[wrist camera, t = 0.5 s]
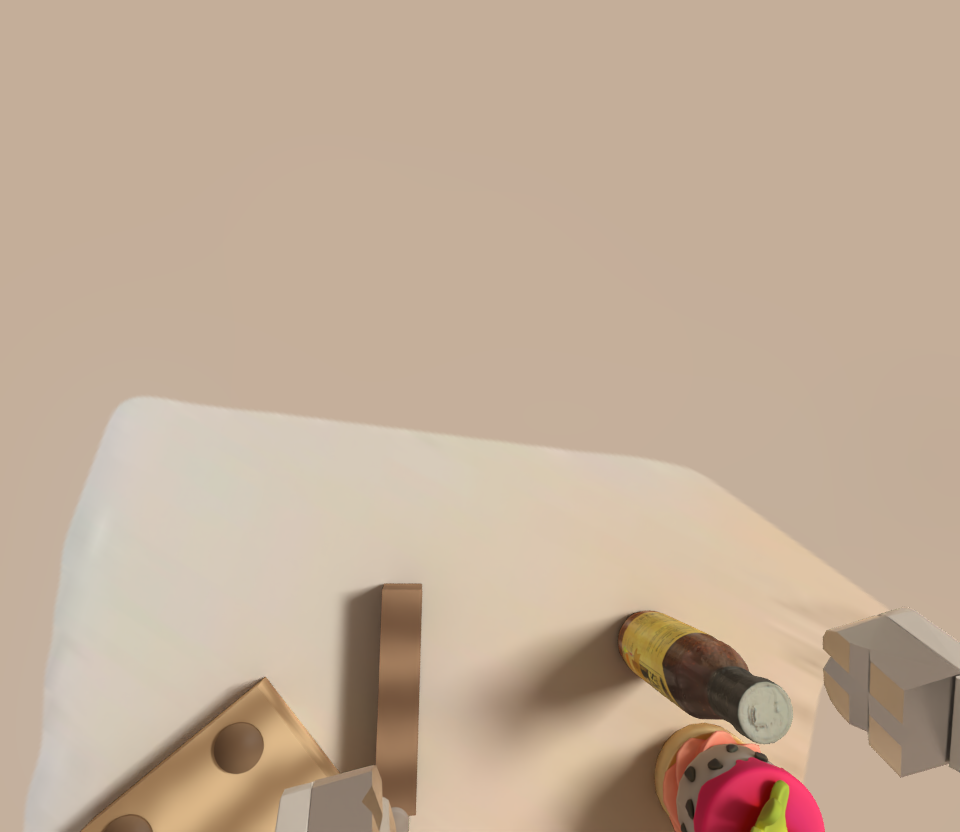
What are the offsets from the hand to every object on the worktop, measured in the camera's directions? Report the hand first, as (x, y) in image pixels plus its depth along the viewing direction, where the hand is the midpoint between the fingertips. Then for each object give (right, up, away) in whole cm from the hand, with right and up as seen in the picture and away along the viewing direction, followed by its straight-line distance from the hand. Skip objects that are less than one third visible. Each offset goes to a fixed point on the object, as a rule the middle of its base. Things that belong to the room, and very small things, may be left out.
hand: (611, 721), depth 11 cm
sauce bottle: (+14, -17, +50) cm, 54 cm away
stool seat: (-24, -30, +44) cm, 58 cm away
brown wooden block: (-10, -21, +46) cm, 52 cm away
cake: (+19, -29, +49) cm, 60 cm away
